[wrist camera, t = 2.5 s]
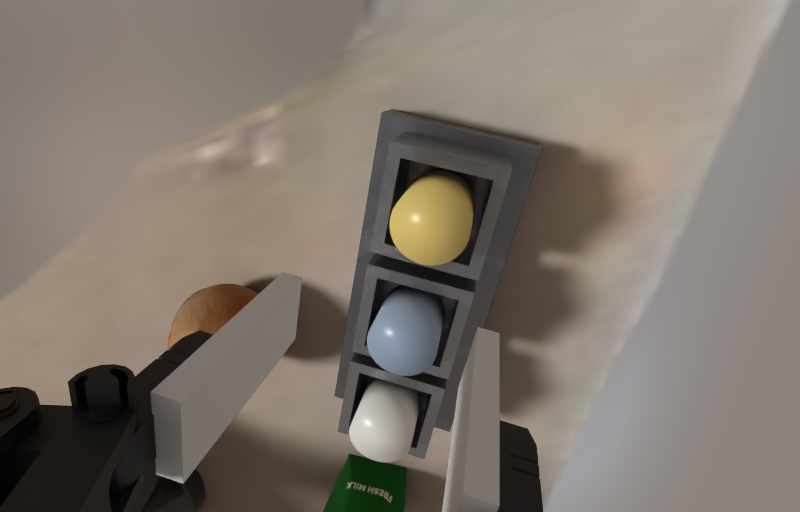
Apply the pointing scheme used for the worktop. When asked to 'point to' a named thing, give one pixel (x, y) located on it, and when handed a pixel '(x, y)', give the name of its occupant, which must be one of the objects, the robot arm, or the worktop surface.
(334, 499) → the milk carton
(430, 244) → the mustard button
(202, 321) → the onion
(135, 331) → the worktop surface
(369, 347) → the slate button
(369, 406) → the cream button
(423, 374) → the grey frame
